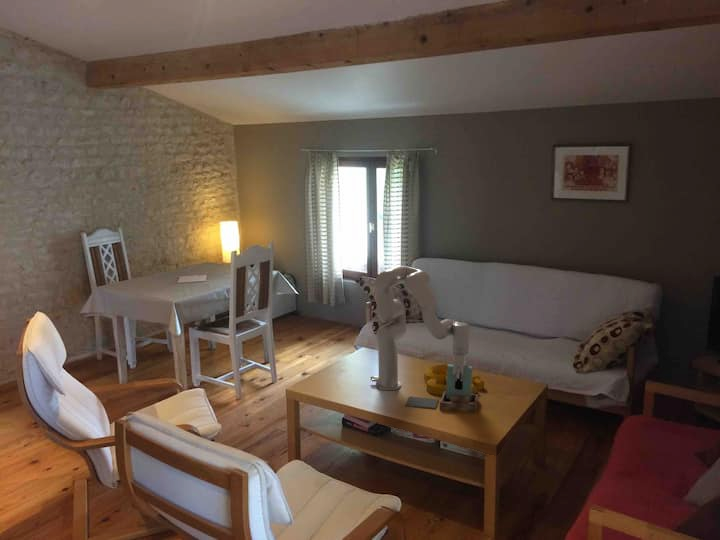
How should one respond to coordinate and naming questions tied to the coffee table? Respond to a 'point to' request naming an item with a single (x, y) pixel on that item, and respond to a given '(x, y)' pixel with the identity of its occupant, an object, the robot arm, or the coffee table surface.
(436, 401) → the mat
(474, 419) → the coffee table surface
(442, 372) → the decorative symbol
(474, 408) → the brown rectangular frame
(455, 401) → the offcut stack
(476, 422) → the coffee table surface
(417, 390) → the coffee table surface
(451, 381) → the teal rectangular block
